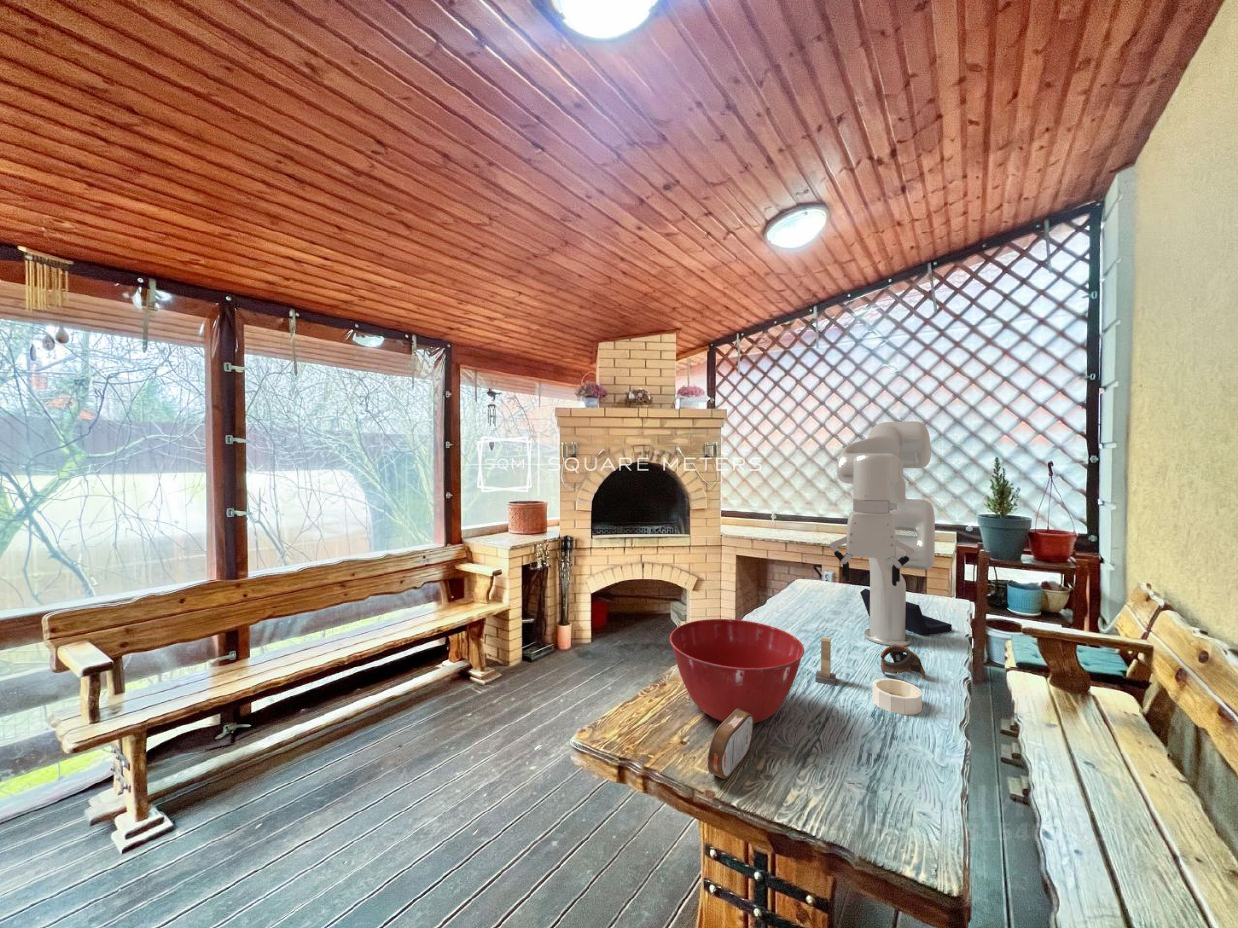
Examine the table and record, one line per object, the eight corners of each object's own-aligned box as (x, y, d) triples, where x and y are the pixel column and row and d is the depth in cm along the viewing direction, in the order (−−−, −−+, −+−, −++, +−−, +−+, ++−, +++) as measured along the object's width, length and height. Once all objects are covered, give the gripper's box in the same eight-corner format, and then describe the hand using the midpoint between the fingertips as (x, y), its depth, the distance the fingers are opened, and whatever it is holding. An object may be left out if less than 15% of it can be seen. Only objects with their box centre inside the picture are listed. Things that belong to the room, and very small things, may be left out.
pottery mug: (935, 686, 122) (921, 658, 121) (896, 698, 125) (882, 671, 123) (914, 656, 134) (902, 630, 133) (879, 668, 136) (866, 643, 135)
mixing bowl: (827, 709, 111) (827, 639, 111) (758, 765, 91) (759, 680, 91) (718, 670, 131) (718, 610, 131) (643, 709, 111) (643, 639, 111)
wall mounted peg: (816, 674, 128) (817, 634, 128) (835, 678, 127) (836, 637, 126) (815, 682, 125) (815, 640, 124) (835, 685, 123) (835, 643, 122)
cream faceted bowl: (871, 690, 120) (872, 675, 120) (919, 698, 116) (919, 683, 116) (872, 708, 111) (872, 692, 111) (923, 718, 107) (923, 701, 107)
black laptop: (951, 632, 160) (952, 600, 160) (913, 638, 154) (913, 606, 154) (895, 613, 179) (895, 584, 179) (859, 618, 174) (860, 589, 174)
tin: (740, 742, 98) (740, 699, 98) (756, 748, 97) (756, 704, 96) (705, 783, 86) (705, 734, 86) (722, 790, 84) (723, 740, 84)
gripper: (912, 508, 116) (911, 582, 116) (830, 504, 123) (829, 575, 123) (916, 510, 109) (915, 590, 110) (829, 507, 116) (829, 582, 116)
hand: (870, 582), depth 116 cm, fingers open, 9 cm apart
